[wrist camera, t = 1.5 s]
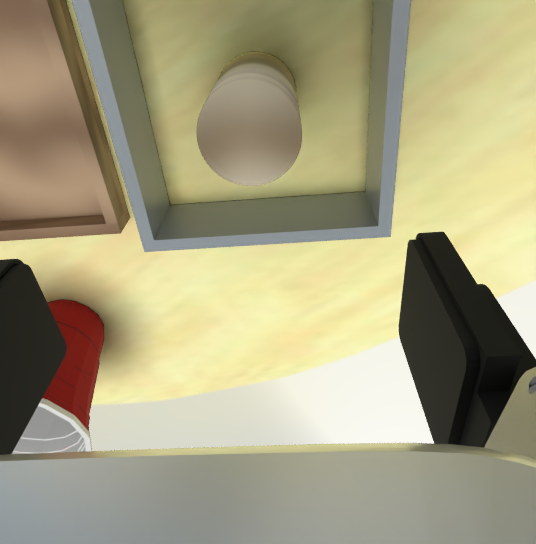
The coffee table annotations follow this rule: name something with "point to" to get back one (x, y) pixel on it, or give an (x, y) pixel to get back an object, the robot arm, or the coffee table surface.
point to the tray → (51, 131)
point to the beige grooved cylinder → (251, 121)
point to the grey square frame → (256, 212)
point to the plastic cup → (68, 386)
